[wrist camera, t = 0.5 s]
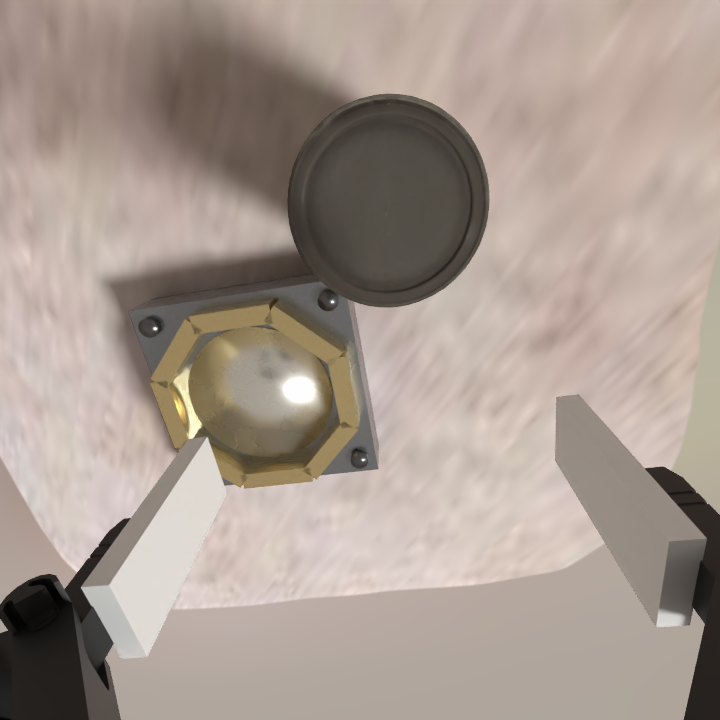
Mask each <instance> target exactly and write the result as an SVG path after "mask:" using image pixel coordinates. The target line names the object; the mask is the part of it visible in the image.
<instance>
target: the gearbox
mask: <svg viewBox="0 0 720 720" xmlns="http://www.w3.org/2000/svg"><path fill="white" fill-rule="evenodd" d="M128 312H129V315H130V318H131V320H132V323H133V326H134V328H135V331H136V334H137V336H138V339H139V342H140V344H141V347H142V350H143V352H144V355H145V358H146V360H147V363H148V366H149V368H150V371H151V374H152V377H151V380H153V381H152V382H151V383H150V385H151V387H152V390H153V392H154V395H155V398H156V400H157V403H158V406H159V408H160V411H161V413H162V416H163V419H164V421H165V424H166V426H167V429H168V432H169V434H170V437H171V440H172V442H173V445H174V447H175V448H180V449H179V450H178V452H180V450H181V449H182V447H183V446H184V445H185V443H186V442H187V441H188V439H191V438H200V437H208V440H209V443H210V446H211V448H212V451H213V454H214V457H215V460H216V463H217V466H218V469H219V472H220V475H221V477H222V480H223V483H224V486H225V485H234V484H235V485H237V486H238V487H241V486H242V485H244V489H245V488H255V487H264V486H273V485H283V484H292V483H302V482H311V481H313V478H315V479H317V478H318V477H319V476H320V475H328V474H337V473H346V472H356V471H365V470H374V469H378V451H379V444H378V439H377V433H376V427H375V421H374V416H373V410H372V404H371V399H370V393H369V387H368V381H367V376H366V370H365V364H364V359H363V353H362V347H361V342H360V336H359V330H358V324H357V319H356V313H355V307H354V302H353V301H351V300H348V299H346V298H344V297H342V296H340V295H338V294H337V293H335V292H333V291H332V290H331V289H329V288H328V287H326V286H325V285H324V284H323V283H322V282H321V281H320V280H319V279H318V278H317V277H316V276H315V275H314V274H309V275H303V276H296V277H290V278H284V279H277V280H271V281H265V282H258V283H252V284H246V285H239V286H233V287H227V288H221V289H214V290H208V291H202V292H195V293H189V294H183V295H176V296H170V297H164V298H157V299H152V300H150V301H148V302H146V303H144V304H142V305H140V306H138V307H136V308H134V309H132V310H130V311H128Z"/></svg>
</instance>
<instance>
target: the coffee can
mask: <svg viewBox="0 0 720 720" xmlns="http://www.w3.org/2000/svg"><path fill="white" fill-rule="evenodd" d="M488 211H489V185H488V178H487V173H486V170H485V166H484V163H483V160H482V157H481V155H480V153H479V151H478V149H477V147H476V145H475V143H474V141H473V140H472V138H471V137H470V135H469V134H468V133H467V131H466V130H465V129H464V128H463V126H462V125H461V124H460V123H459V122H458V121H457V120H456V119H455V118H453V117H452V116H451V115H449V114H448V113H447V112H445V111H444V110H443V109H441V108H440V107H438V106H436V105H434V104H432V103H430V102H428V101H425V100H422V99H419V98H416V97H413V96H407V95H400V94H379V95H373V96H369V97H365V98H361V99H358V100H356V101H353V102H351V103H349V104H347V105H345V106H343V107H341V108H339V109H338V110H336V111H335V112H333V113H332V114H330V115H329V116H328V117H327V118H325V119H324V120H323V121H322V122H321V123H320V124H319V125H318V126H317V128H316V129H315V130H314V131H313V132H312V133H311V135H310V136H309V137H308V139H307V140H306V142H305V143H304V145H303V146H302V148H301V150H300V152H299V154H298V156H297V159H296V161H295V164H294V167H293V170H292V174H291V178H290V183H289V189H288V217H289V225H290V229H291V233H292V236H293V239H294V242H295V245H296V247H297V249H298V251H299V253H300V255H301V257H302V259H303V260H304V262H305V263H306V265H307V266H308V267H309V269H310V270H311V271H312V273H313V274H314V275H315V276H316V277H317V278H318V279H319V280H320V281H321V282H322V283H323V284H324V285H325V286H326V287H328V288H329V289H331V290H332V291H333V292H335V293H337V294H338V295H340V296H342V297H344V298H346V299H348V300H351V301H354V302H357V303H360V304H364V305H368V306H375V307H399V306H405V305H409V304H413V303H416V302H419V301H421V300H424V299H426V298H428V297H430V296H432V295H434V294H436V293H437V292H439V291H441V290H442V289H444V288H445V287H447V286H448V285H449V284H450V283H451V282H452V281H454V280H455V279H456V278H457V277H458V276H459V275H460V274H461V272H462V271H463V270H464V269H465V268H466V266H467V265H468V264H469V262H470V261H471V259H472V257H473V256H474V254H475V253H476V251H477V249H478V247H479V245H480V242H481V240H482V237H483V234H484V231H485V228H486V223H487V219H488Z"/></svg>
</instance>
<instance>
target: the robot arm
mask: <svg viewBox="0 0 720 720" xmlns="http://www.w3.org/2000/svg"><path fill="white" fill-rule="evenodd" d="M555 461H556V463H557V464H558V466H559V468H560V469H561V471H562V472H563V474H564V476H565V477H566V479H567V481H568V482H569V484H570V486H571V487H572V489H573V491H574V492H575V494H576V496H577V497H578V499H579V501H580V502H581V504H582V506H583V507H584V509H585V511H586V512H587V514H588V515H589V517H590V519H591V520H592V522H593V524H594V525H595V527H596V529H597V530H598V532H599V534H600V535H601V537H602V539H603V540H604V542H605V544H606V545H607V547H608V548H609V550H610V552H611V554H612V555H613V557H614V558H615V560H616V562H617V563H618V565H619V567H620V568H621V570H622V572H623V573H624V575H625V577H626V578H627V580H628V582H629V583H630V585H631V587H632V588H633V590H634V591H635V593H636V594H637V597H638V598H639V600H640V601H641V603H642V605H643V606H644V608H645V610H646V611H647V613H648V615H649V616H650V618H651V620H652V621H653V623H654V625H655V626H656V627H667V626H683V625H690V622H691V616H692V611H693V608H694V609H695V611H696V612H697V614H698V615H699V616H700V618H701V619H702V620H703V622H704V623H705V626H704V631H703V635H702V640H701V644H700V649H699V653H698V658H697V662H696V667H695V672H694V676H693V680H692V685H691V689H690V694H689V699H688V703H687V708H686V712H685V717H684V720H720V515H719V514H718V513H717V512H716V511H715V510H714V509H713V508H712V507H711V506H710V505H709V504H707V503H706V501H705V500H704V499H703V498H702V497H701V496H700V495H699V494H698V493H696V491H695V490H694V489H693V488H692V487H691V486H690V485H689V483H687V482H686V481H685V479H684V478H683V477H681V476H679V475H677V474H676V473H674V472H672V471H670V470H669V469H667V468H665V467H654V468H644V467H643V466H642V465H641V464H640V463H639V462H638V461H637V459H636V458H635V457H634V456H633V455H632V454H631V453H630V452H629V450H628V449H627V448H626V447H625V446H624V445H623V444H622V443H621V441H620V440H619V439H618V438H617V437H616V436H615V435H614V434H613V432H612V431H611V430H610V429H609V428H608V427H607V426H606V425H605V423H604V422H603V421H602V420H601V419H600V418H599V417H598V416H597V415H596V413H595V412H594V411H593V410H592V409H591V408H590V407H589V406H588V404H587V403H586V402H585V401H584V400H583V399H582V398H581V397H580V395H571V396H562V397H556V450H555ZM226 494H227V492H226V489H225V486H224V483H223V480H222V477H221V475H220V472H219V469H218V466H217V463H216V460H215V457H214V454H213V451H212V448H211V446H210V443H209V440H208V437H200V438H191V439H188V441H187V442H186V443H185V445H184V446H183V447H182V449H181V450H180V452H179V453H178V454H177V456H176V457H175V458H174V460H173V461H172V463H171V464H170V465H169V467H168V468H167V469H166V471H165V472H164V474H163V475H162V476H161V478H160V479H159V480H158V482H157V483H156V485H155V486H154V487H153V489H152V490H151V491H150V493H149V494H148V496H147V497H146V498H145V500H144V501H143V502H142V504H141V505H140V507H139V508H138V509H137V511H136V512H135V513H134V515H133V516H132V518H127V519H123V520H122V521H121V522H119V523H118V524H117V525H116V526H115V527H113V528H112V529H111V530H110V531H109V532H108V533H107V534H106V536H105V537H104V538H103V540H102V541H101V542H100V544H99V547H97V548H96V549H95V550H94V552H93V553H92V554H91V555H90V556H91V557H90V558H88V559H87V561H86V562H85V563H84V565H83V566H82V567H81V569H80V570H79V571H78V572H77V574H76V575H75V577H74V578H73V579H72V580H71V582H70V583H69V585H68V586H67V587H66V588H65V590H64V588H63V587H62V585H61V583H60V581H59V580H58V578H57V577H56V576H55V575H52V574H46V575H40V576H38V577H35V578H33V579H30V580H28V581H26V582H25V583H23V584H22V585H20V586H19V587H17V588H16V589H15V590H13V591H12V592H11V593H10V594H9V595H8V596H7V597H6V598H5V599H4V600H3V602H2V603H1V604H0V619H1V620H2V622H3V623H4V625H5V626H6V628H7V629H8V631H5V632H3V633H0V720H121V719H120V714H119V709H118V705H117V700H116V695H115V690H114V685H113V682H112V676H111V671H110V667H109V665H108V663H107V661H106V660H105V658H106V656H107V654H108V652H109V650H110V649H111V647H112V645H114V647H115V649H116V651H117V652H118V654H119V656H120V657H121V658H122V659H124V658H140V657H148V654H149V652H150V650H151V648H152V646H153V644H154V642H155V640H156V638H157V636H158V634H159V632H160V630H161V628H162V626H163V624H164V621H165V619H166V617H167V615H168V613H169V611H170V609H171V607H172V605H173V603H174V601H175V599H176V597H177V595H178V593H179V591H180V589H181V586H182V584H183V582H184V580H185V578H186V576H187V574H188V572H189V570H190V568H191V566H192V564H193V562H194V560H195V558H196V556H197V553H198V551H199V549H200V547H201V545H202V543H203V541H204V539H205V537H206V535H207V533H208V531H209V529H210V527H211V525H212V523H213V520H214V518H215V516H216V514H217V512H218V510H219V508H220V506H221V504H222V502H223V500H224V498H225V496H226Z"/></svg>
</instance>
